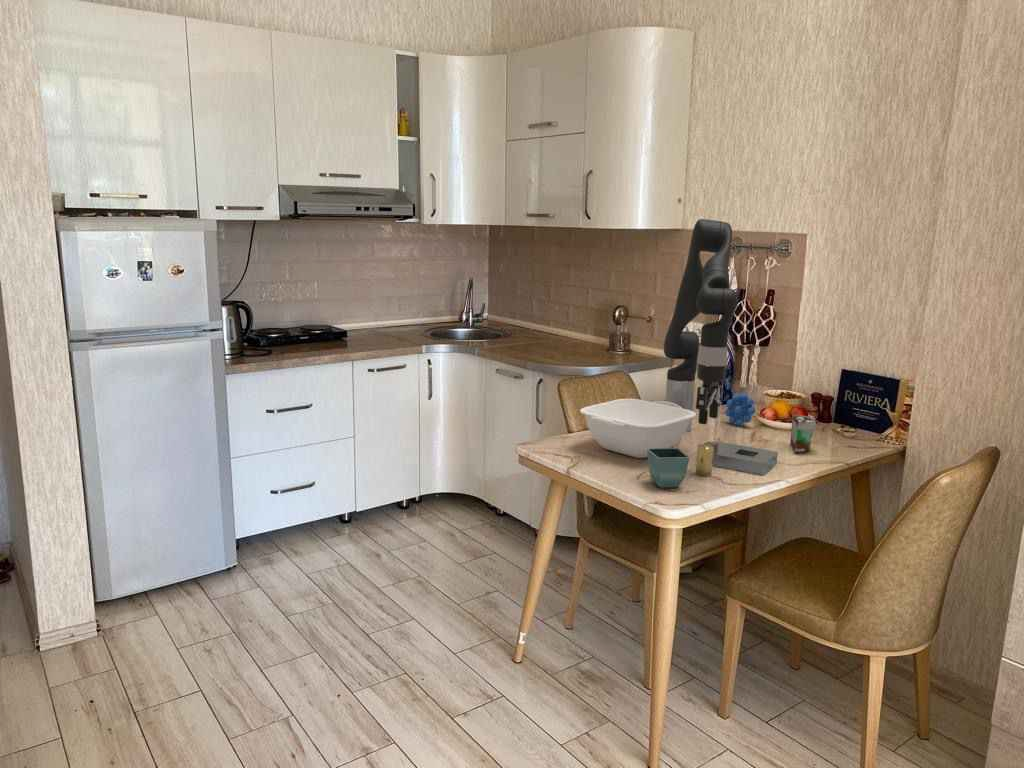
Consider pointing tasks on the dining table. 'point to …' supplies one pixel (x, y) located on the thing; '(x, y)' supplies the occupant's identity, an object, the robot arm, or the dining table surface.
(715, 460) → the plate
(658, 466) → the flower pot
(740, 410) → the blue knobby disc
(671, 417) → the white basin
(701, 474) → the gold peg
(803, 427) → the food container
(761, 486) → the dining table surface
